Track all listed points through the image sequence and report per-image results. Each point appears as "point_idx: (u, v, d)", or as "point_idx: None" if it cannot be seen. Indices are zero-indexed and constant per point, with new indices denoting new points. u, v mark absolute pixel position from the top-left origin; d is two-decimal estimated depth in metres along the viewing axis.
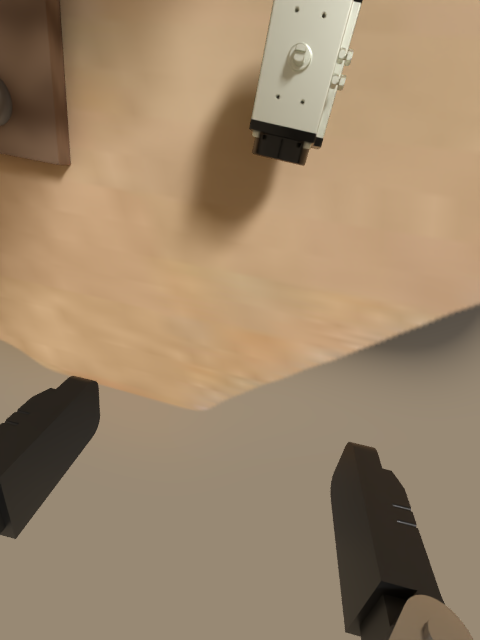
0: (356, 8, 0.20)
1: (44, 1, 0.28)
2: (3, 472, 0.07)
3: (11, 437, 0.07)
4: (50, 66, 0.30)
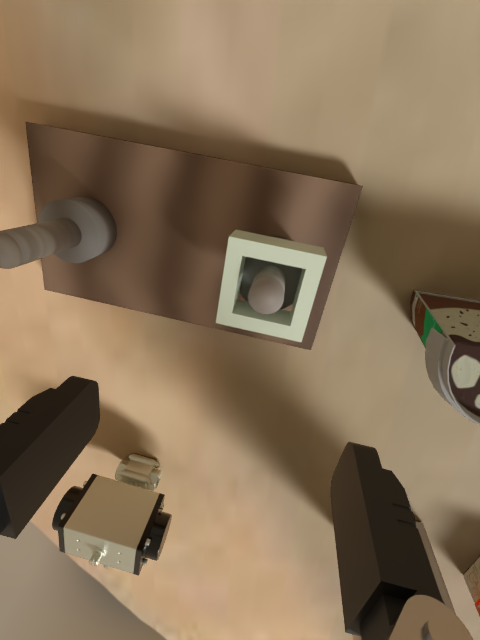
0: None
1: (176, 318, 0.30)
2: (3, 472, 0.07)
3: (11, 437, 0.07)
4: (129, 308, 0.30)
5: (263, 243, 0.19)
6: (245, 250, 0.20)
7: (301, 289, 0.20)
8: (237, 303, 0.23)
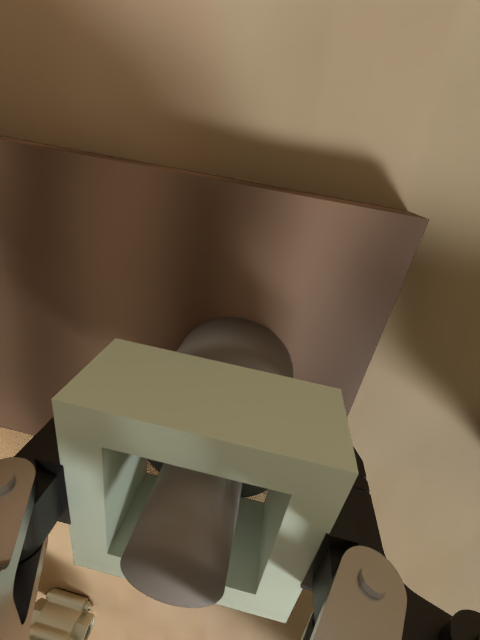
0: None
1: None
2: None
3: None
4: None
5: (158, 421, 0.06)
6: (108, 436, 0.06)
7: (280, 534, 0.07)
8: (140, 493, 0.10)
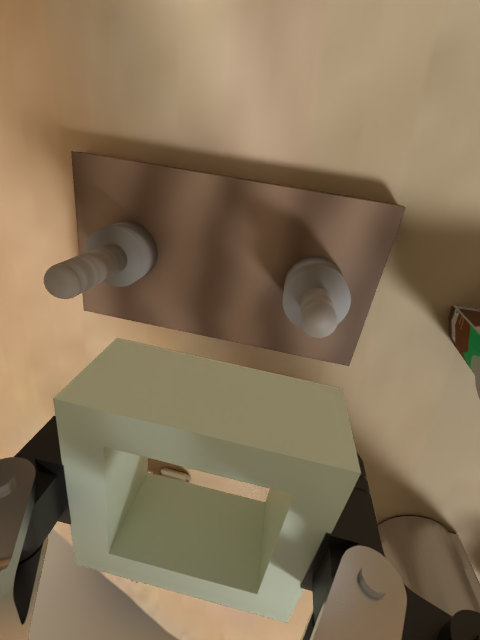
0: None
1: (214, 337, 0.30)
2: None
3: None
4: (167, 327, 0.31)
5: (160, 420, 0.06)
6: (109, 436, 0.06)
7: (282, 533, 0.07)
8: (141, 492, 0.10)
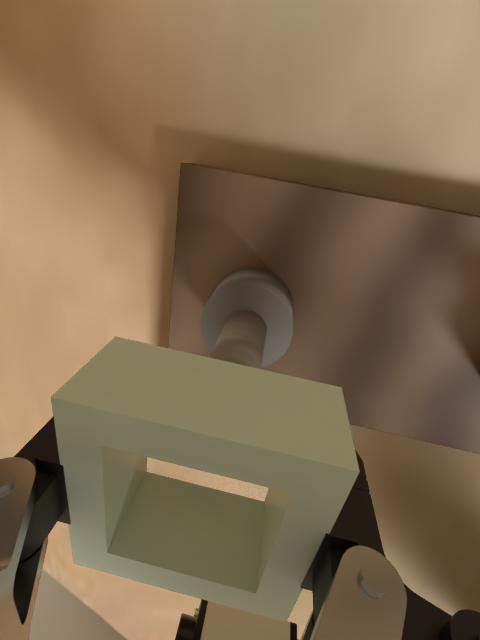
0: None
1: (353, 423, 0.22)
2: None
3: None
4: None
5: (158, 419, 0.06)
6: (107, 434, 0.06)
7: (281, 532, 0.07)
8: (140, 492, 0.10)
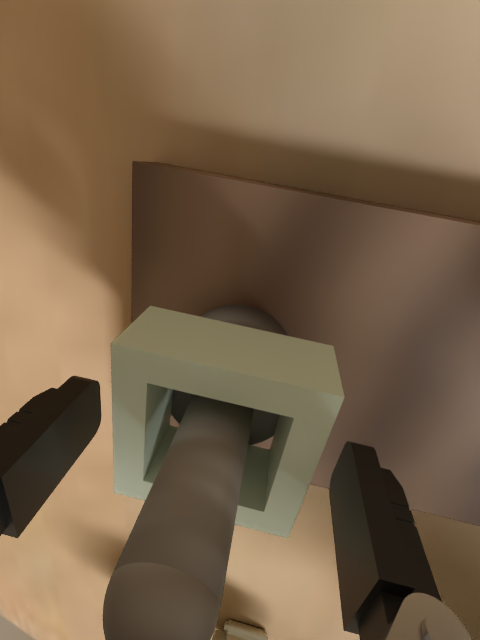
0: None
1: None
2: (5, 471, 0.07)
3: (13, 436, 0.07)
4: None
5: (192, 360, 0.08)
6: (152, 373, 0.08)
7: (285, 454, 0.09)
8: (165, 439, 0.12)
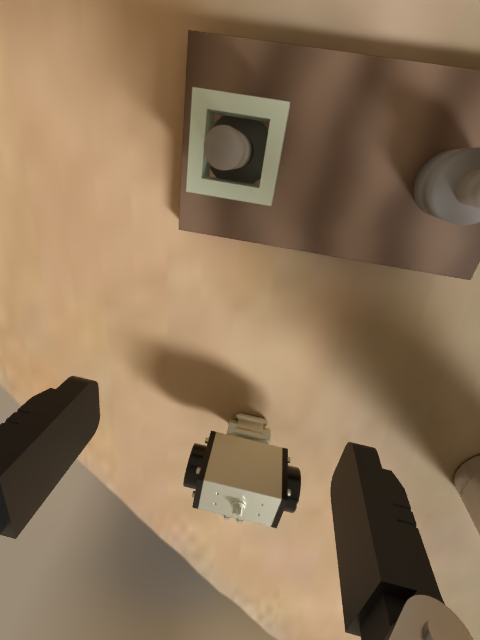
0: None
1: (323, 253, 0.28)
2: (3, 472, 0.07)
3: (11, 437, 0.07)
4: (271, 245, 0.29)
5: (227, 93, 0.19)
6: (209, 102, 0.20)
7: (267, 143, 0.20)
8: (208, 177, 0.23)
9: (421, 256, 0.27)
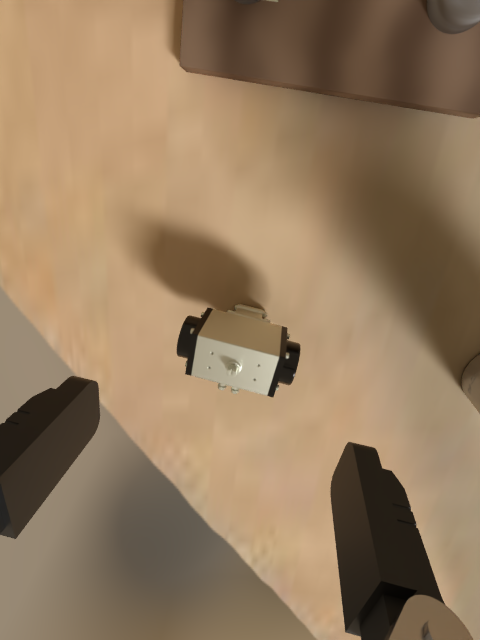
0: None
1: (330, 88, 0.27)
2: (3, 472, 0.07)
3: (11, 437, 0.07)
4: (276, 81, 0.27)
5: None
6: None
7: None
8: None
9: (433, 87, 0.26)
